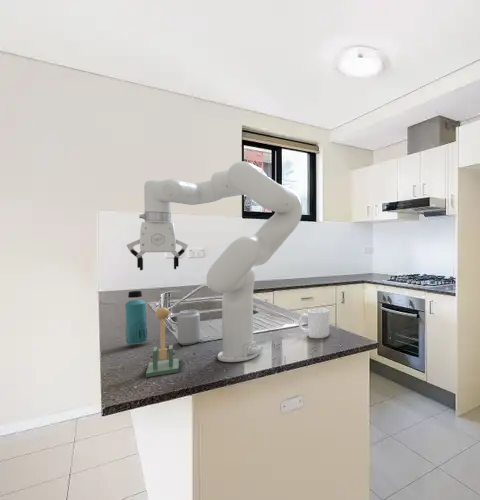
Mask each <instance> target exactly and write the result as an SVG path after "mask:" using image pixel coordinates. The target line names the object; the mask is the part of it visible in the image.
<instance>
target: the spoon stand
mask: <svg viewBox="0 0 480 500" xmlns="http://www.w3.org/2000/svg"><path fill="white" fill-rule="evenodd" d="M158 350H159V348H158V346H154V347H153V348H152V352H150V358H151V359H152V361H149V362H148V365H147V368H146V372H145V378H150V377H158V376H162V375H163V376H164V375H169V374H175V373H180V372H179V371H180V358H178V357H177V358H174V356H175V355H176V351H175V350H176V349H174V345H173V344H169V345H168V359H162V360H159V353H158Z"/></svg>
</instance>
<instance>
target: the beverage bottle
mask: <svg viewBox="0 0 480 500" xmlns="http://www.w3.org/2000/svg"><path fill="white" fill-rule="evenodd" d="M142 293H143V292H142V290H131V291H128V296H127V297H128V299H130V298H141V297H143V294H142ZM146 304H147V303H146V301H145V300H143V299H131V300H128V301H127V302H126V303H125V304H124V309H125V327H124V328H125V341H126V343H127V344H129V345H135V344H141V343H145V342H146V341H147V340H148V328H147V309H146V307H147V306H146Z"/></svg>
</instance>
